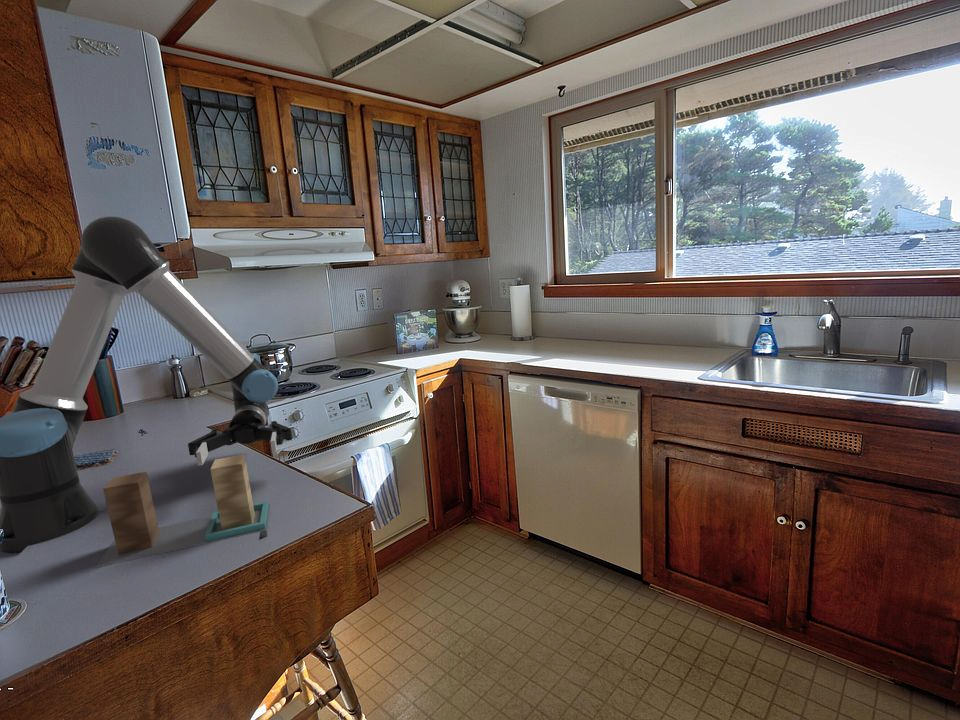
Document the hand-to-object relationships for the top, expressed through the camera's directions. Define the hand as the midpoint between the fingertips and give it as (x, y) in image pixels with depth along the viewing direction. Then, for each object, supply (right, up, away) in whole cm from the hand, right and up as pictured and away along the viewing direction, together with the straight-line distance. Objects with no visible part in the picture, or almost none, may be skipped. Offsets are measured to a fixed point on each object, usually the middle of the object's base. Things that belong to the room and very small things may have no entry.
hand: (237, 452), depth 101 cm
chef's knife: (-55, -6, +56) cm, 79 cm away
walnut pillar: (-11, -14, -13) cm, 22 cm away
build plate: (-3, -14, -10) cm, 17 cm away
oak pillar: (+4, -12, -8) cm, 14 cm away
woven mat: (-57, -10, +36) cm, 68 cm away
